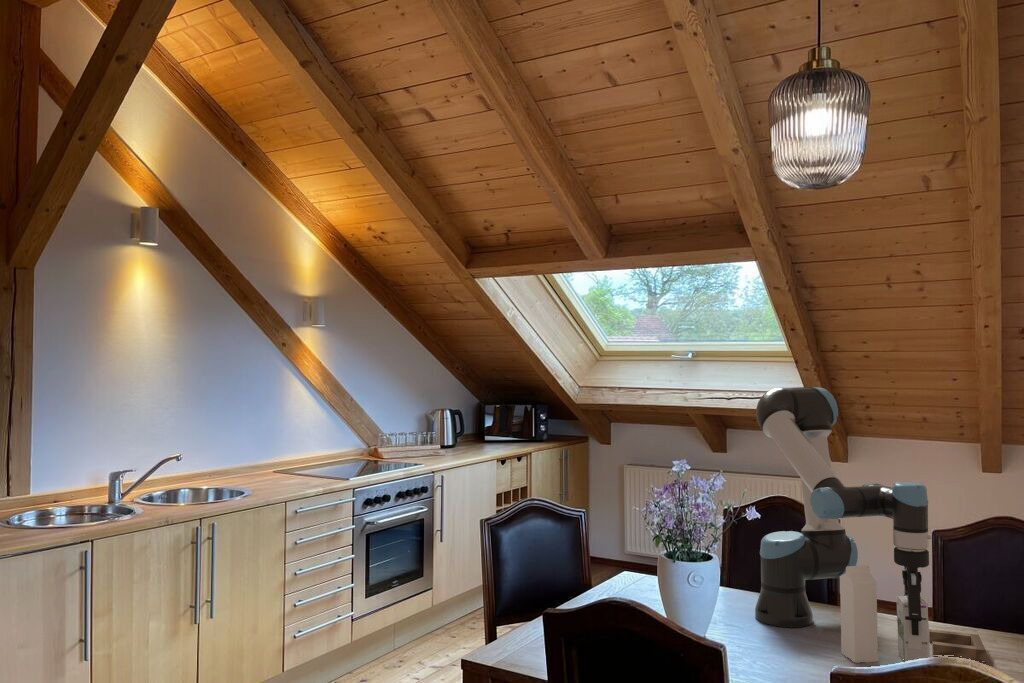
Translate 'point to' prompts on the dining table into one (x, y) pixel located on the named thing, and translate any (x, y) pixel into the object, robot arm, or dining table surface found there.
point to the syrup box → (903, 644)
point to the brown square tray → (957, 645)
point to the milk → (859, 615)
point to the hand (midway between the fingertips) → (913, 639)
